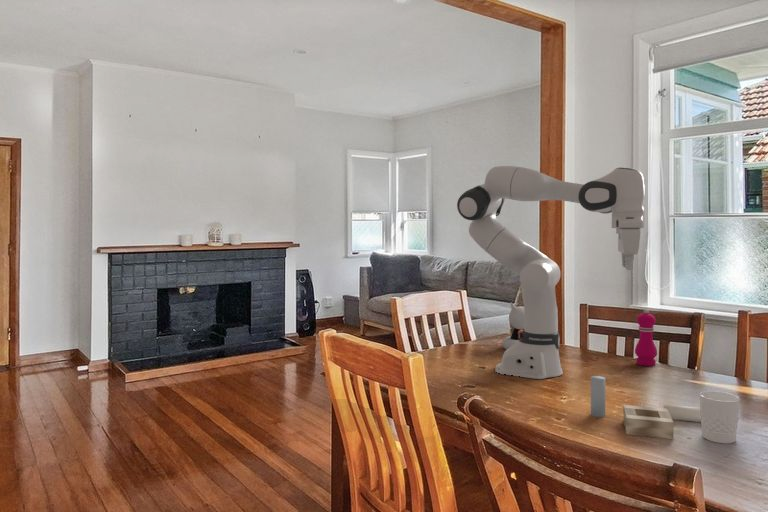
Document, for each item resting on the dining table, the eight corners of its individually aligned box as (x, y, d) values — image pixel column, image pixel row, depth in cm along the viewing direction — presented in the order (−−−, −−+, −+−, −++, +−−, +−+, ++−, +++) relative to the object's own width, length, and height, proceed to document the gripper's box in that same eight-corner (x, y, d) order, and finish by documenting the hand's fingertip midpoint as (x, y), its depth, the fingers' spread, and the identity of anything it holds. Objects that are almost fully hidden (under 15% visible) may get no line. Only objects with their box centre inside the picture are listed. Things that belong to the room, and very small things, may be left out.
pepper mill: (659, 366, 188) (660, 310, 187) (637, 366, 190) (638, 310, 189) (653, 361, 195) (654, 307, 194) (632, 361, 197) (632, 307, 196)
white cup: (691, 432, 129) (692, 391, 128) (722, 431, 129) (723, 390, 129) (714, 445, 121) (715, 402, 120) (747, 444, 121) (748, 400, 121)
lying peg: (664, 421, 138) (665, 412, 136) (662, 410, 141) (663, 401, 139) (708, 426, 135) (710, 417, 133) (705, 414, 138) (707, 405, 136)
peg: (590, 416, 140) (590, 379, 140) (590, 412, 144) (590, 375, 143) (605, 418, 139) (605, 380, 139) (604, 413, 143) (605, 376, 142)
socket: (626, 434, 128) (626, 417, 128) (623, 420, 138) (623, 404, 137) (673, 439, 125) (673, 422, 125) (666, 424, 134) (666, 408, 134)
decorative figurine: (532, 345, 226) (532, 298, 225) (544, 353, 211) (544, 303, 210) (498, 346, 225) (497, 299, 224) (508, 354, 211) (507, 304, 210)
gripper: (613, 222, 170) (613, 266, 171) (619, 222, 151) (618, 270, 151) (635, 222, 168) (634, 266, 169) (643, 221, 149) (643, 271, 149)
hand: (627, 268), depth 160 cm, fingers open, 8 cm apart
